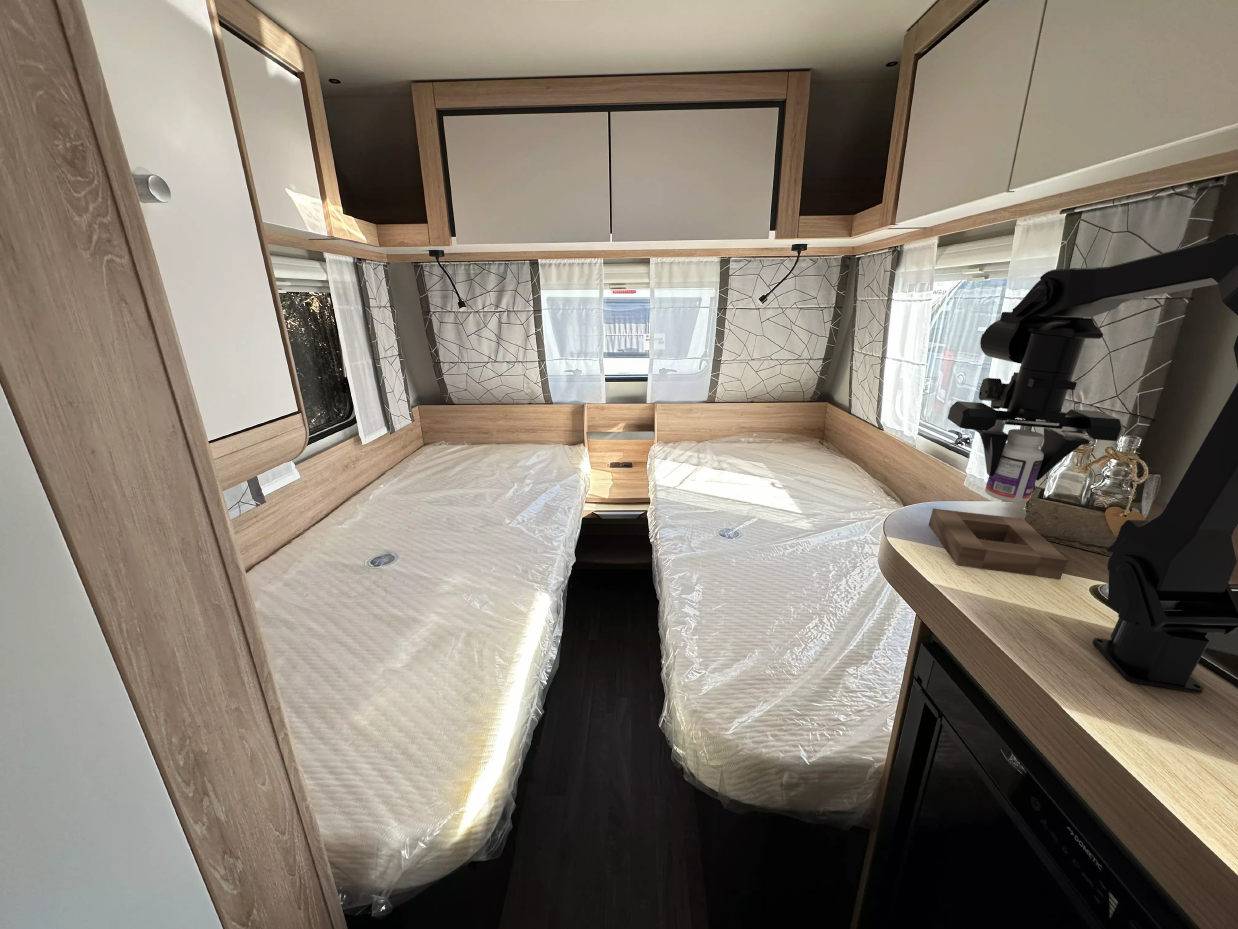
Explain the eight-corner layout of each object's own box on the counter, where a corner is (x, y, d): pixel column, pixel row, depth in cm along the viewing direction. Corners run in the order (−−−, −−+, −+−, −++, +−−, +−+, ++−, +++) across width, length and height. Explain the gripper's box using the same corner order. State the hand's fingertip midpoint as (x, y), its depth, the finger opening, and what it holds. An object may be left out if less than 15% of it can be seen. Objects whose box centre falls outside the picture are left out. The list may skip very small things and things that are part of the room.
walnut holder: (1060, 578, 71) (1067, 560, 70) (956, 564, 74) (961, 546, 72) (1016, 535, 82) (1022, 518, 81) (928, 524, 85) (933, 508, 84)
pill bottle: (1014, 489, 77) (1034, 428, 74) (1037, 505, 72) (1060, 439, 69) (976, 487, 77) (994, 426, 74) (997, 502, 72) (1017, 437, 69)
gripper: (1092, 364, 73) (1056, 465, 79) (948, 356, 78) (924, 453, 83) (1145, 378, 63) (1101, 493, 69) (977, 368, 67) (947, 477, 73)
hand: (1012, 477), depth 74 cm, fingers closed on pill bottle, 5 cm apart
